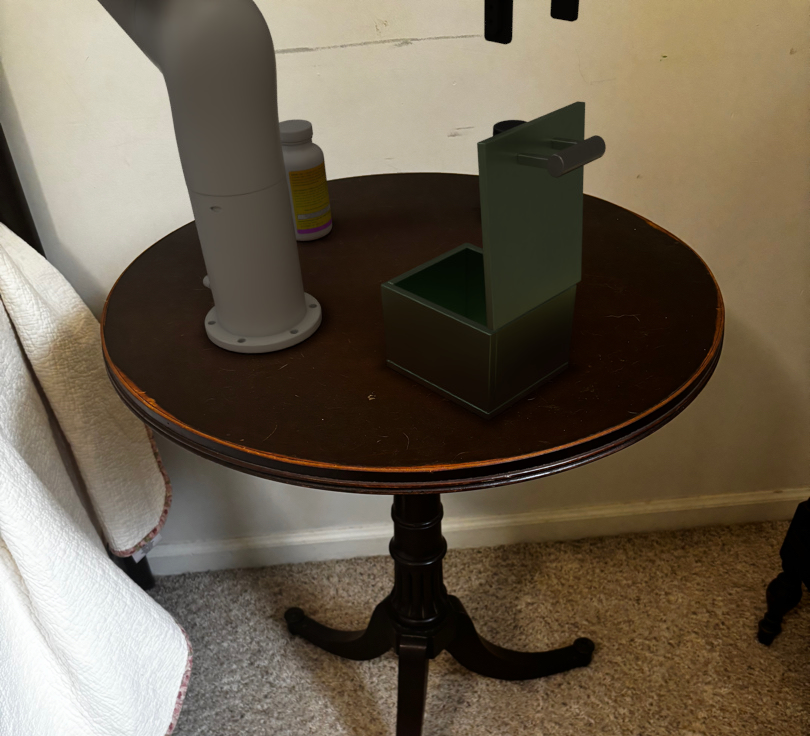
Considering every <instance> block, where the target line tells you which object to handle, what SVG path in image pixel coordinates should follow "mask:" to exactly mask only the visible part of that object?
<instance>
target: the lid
mask: <svg viewBox="0 0 810 736" xmlns="http://www.w3.org/2000/svg"><path fill="white" fill-rule="evenodd" d="M585 131H586V102H585V101H579V100H578V101H575V102H572V103H569V104H568V105H565V106H562V107H561V108H558V109H555V110H554V111H551V112H548V113H546V114H543V115H541V116H538V117H536V118H534V119H532V120H528V121H526V123H524V124H521V125H519V126H516V127H514V128H512V129H509V130H507V131H504V132H502V133H499V134H497V135H495V136H493V135H492V136H490V137H487V138H485V139H483V140H480V141H478V142H476V149H477V166H478V169H477V170H478V186H479V201H480V202H479V204H480V220H481V221H480V223H481V237H482V249H483V258H484V276H485V294H486V311H487V328H488V329H490V330H493V331H495V330H497V329H499V328H500V327H502V326H504V325H505V324H507V323H509V322H511V321H512V320H514V319H516V318H517V317H519V316H521V315H523V314H524V313H526V312H528V311H530V310H531V309H533V308H535V307H536V306H538V305H540V304H542V303H543V302H545V301H547V300H548V299H550V298H552V297H554V296H555V295H557V294H559V293H560V292H562V291H564V290H566V289H567V288H569V287H571V286H572V285H574V284H576V285H577V284H578V283H579V282H581V281H582V261H583V260H582V255H583V254H582V253H583V218H584V217H583V216H584V215H583V214H584V213H583V212H584V211H583V210H584V174H585V173H584V172H585V166H586V165H588V164H590V163H592V162H594V161H596V160H598V159H601V158H602V157H603V156H604V155H605V153H606V148H607V147H606V146H607V145H606V141H605V140H604V138H603V137H602V136H601V135H592V136H590V137H588V138H586V139H585V136H586V135H585V133H586V132H585Z"/></svg>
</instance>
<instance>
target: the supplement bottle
mask: <svg viewBox="0 0 810 736" xmlns="http://www.w3.org/2000/svg"><path fill="white" fill-rule="evenodd" d="M279 127H280V135H281V143H282V150H283V157H284V164H285V170H286V175H287V182H288V188H289V195H290V202H291V208H292V215H293V222H294V228H295V235H296V242H308V241H315V240H319V239H320V238H323V237H326V235H328V234H330V232H331V231H332V228H333V218H332V217H333V216H332V210H331V202H330V201H331V200H330V195H329V186H328V185H329V184H328V179H327V178H328V177H327V169H326V161H325V153H324V151H323V149H322V148H321V147H320V145H318V144H316V143H315V142H313V136H314V130H313V124H312V121H309V120H307V119H287V120H282V121H279Z"/></svg>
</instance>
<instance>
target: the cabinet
mask: <svg viewBox="0 0 810 736" xmlns="http://www.w3.org/2000/svg"><path fill="white" fill-rule="evenodd" d="M577 287H578V286H577V283H576V284H574V285H572V286H571V287H569V288H567V289H566V290H564V291H562V292H560V293H559V294H557V295H555V296H554V297H552V298H550V299H548V300H547V301H545V302H543V303H542V304H540V305H538V306H536V307H535V308H533V309H531V310H530V311H528V312H526V313H524V314H523V315H521V316H519V317H517V318H516V319H514V320H512V321H511V322H509V323H507V324H505V325H504V326H502V327H500V328H499V329H497V330H495V331H493V330H490V329H488V328H487V311H486V294H485V276H484V258H483V247H479V246H477V245H474V244H472V243H469V242H464V243H463V244H461V245H459V246H457V247H454V248H452V249H449V250H448V251H446V252H444V253H442V254H440V255H438V256H436V257H434V258H432V259H430V260H428V261H426V262H424V263H422V264H419V265H418V266H415V267H414V268H412V269H410V270H408V271H406V272H404V273H402V274H399V275H398V276H396V277H393V278H391V279H390V280H387V281H385V282H382V283H381V284H380V291H381V303H382V316H383V317H382V318H383V329H384V330H383V331H384V343H385V353H386V355H385V357H386V366H387V367H388V368H389V369H391V370H393V371H395V372H397V373H399V374H401V375H402V376H404V377H406V378H408V379H410V380H411V381H412V382H415V383H417V384H419V385H420V386H422V387H424V388H427V389H428V390H430V391H432V392H434V393H436V394H438V395H439V396H441V397H443V398H445V399H446V400H449V401H450V402H452V403H454V404H456V405H458V406H460V407H461V408H464V409H466V410H467V411H469V412H471V413H473V414H475V415H476V416H478V417H480V418H482V419H484V420H486V421H490V420H492V419H493V418H495V417H496V416H498V415H499V414H501V413H502V412H504V411H505V410H508V408H510V407H512V406H513V405H515V404H516V403H518V402H519V401H521V400H523V399H524V398H525V397H527V396H528V395H530V394H531V393H533V392H534V391H536V390H538V389H539V388H541V387H542V386H543V385H545V384H547V383H548V382H550V381H551V380H553V379H554V378H556V377H558V375H561V374H562V373H563V372H565V371H566V370H568V369H569V360H570V352H571V341H572V332H573V323H574V315H575V304H576V294H577Z"/></svg>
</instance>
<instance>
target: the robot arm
mask: <svg viewBox="0 0 810 736" xmlns="http://www.w3.org/2000/svg"><path fill="white" fill-rule="evenodd" d="M96 1H97V2H98V3H99V4H100V5H101V6H102V7H103V8H104V10H105V11H106V12H107V13H108V14H109V16H110V17H111V19H113V21H115V23H116V24H117V25H118V26H119V27H120V28H121V29H122V30H123V32H124V33H125V34H126V35H127V36H128V37H129V39H130V40H131V41H132V42H133V44H135V45H136V46H137V48H138V49H139V50H140V51H141V52H142V53H143V55H145V57H146V58H147V59H148V60H149V61H150V62H151V63H152V64H153V65H154V66H155V67H156V68H157V70H158V71H159V72H160V73H161V74H162V76H163V80H164V84H165V87H166V89H167V90H166V91H167V95H168V100H169V106H170V112H171V117H172V124H173V130H174V137H175V142H176V147H177V152H178V156H179V161H180V162H179V163H180V165H181V170H182V173H183V179H184V182H185V186H186V189H187V193H188V197H189V202H190V205H191V211H192V214H193V219H194V222H195V223H194V224H195V227H196V231H197V235H198V239H199V243H200V248H201V253H202V256H203V257H202V258H203V260H204V264H205V269H206V273H207V275H205V276H204V277H203V279H202V284H203V285H204V287H207V288H208V289H209V290H211V294H212V295H211V296H212V298H213V303H214V305H213V306H212V308H211V309H210V310H209V311H208V312H207V314H206V316H205V319H204V328H205V332H206V335H207V338H208V339H209V340H210V341H211V342H212V343H213V344H214V345H216V346H218V347H219V348H222V349H225V350H227V351H230V352H235V353H242V354H264V353H271V352H275V351H280V350H284V349H287V348H290V347H293V346H296V345H298V344H300V343H301V342H303V341H305V340H307V339H308V338H309V337H311V336H312V335H313V334H314V333H315V332H316V331H317V330H318V329H319V327H320V326H321V324H322V320H323V312H322V307H321V304H320V302H319V301H318V300H317V299H316V297H314V296H313V295H312V294H310V293H307V292H306V291H305V290H304V289H305V288H304V282H303V276H302V275H303V274H302V270H301V269H302V268H301V263H300V255H299V249H298V243H297V242H298V241H297V240H296V235H295V228H294V222H293V215H292V208H291V202H290V195H289V188H288V182H287V175H286V170H285V164H284V157H283V150H282V143H281V135H280V127H279V122H280V117H279V105H278V104H279V102H278V72H277V71H278V70H277V69H278V68H277V57H276V50H275V45H274V40H273V36H272V33H271V30H270V28H269V25H268V23H267V21H266V18H265V17H264V15H263V12H262V11H261V10H260V7H258V5H257V3H256V2H255V1H254V0H96ZM483 2H484V3H483V7H484V8H483V12H484V13H483V37H484V40H485V41H487V42H491V43H496V44H501V45H506V46H507V45H508V44H511V43H512V41H513V32H514V31H513V30H514V29H513V28H514V27H513V26H514V22H513V21H514V0H483ZM579 11H580V0H550V13H549V15H550V17H551V19H553V20H559V21H566V22H571V23H572V22H575V21H578V18H579Z"/></svg>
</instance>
